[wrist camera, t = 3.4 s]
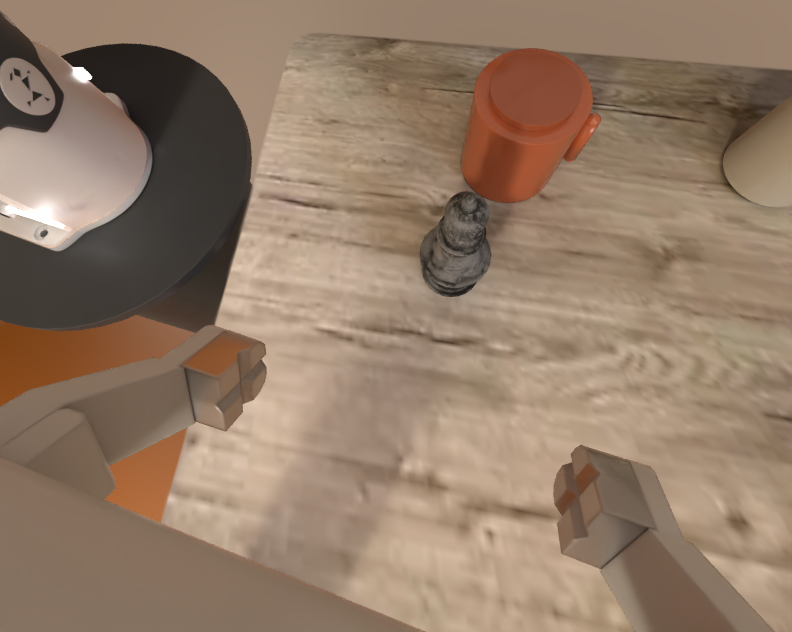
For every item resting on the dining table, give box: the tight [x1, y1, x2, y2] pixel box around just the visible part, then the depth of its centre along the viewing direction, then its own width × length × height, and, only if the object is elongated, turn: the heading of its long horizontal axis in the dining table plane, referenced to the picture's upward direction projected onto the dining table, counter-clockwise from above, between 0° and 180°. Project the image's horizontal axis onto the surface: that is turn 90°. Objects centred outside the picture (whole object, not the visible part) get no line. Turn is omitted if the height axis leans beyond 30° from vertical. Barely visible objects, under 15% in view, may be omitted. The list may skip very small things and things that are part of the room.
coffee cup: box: [461, 48, 601, 203], centre depth 30 cm, size 10×9×9 cm
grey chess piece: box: [420, 192, 491, 297], centre depth 26 cm, size 6×6×12 cm
